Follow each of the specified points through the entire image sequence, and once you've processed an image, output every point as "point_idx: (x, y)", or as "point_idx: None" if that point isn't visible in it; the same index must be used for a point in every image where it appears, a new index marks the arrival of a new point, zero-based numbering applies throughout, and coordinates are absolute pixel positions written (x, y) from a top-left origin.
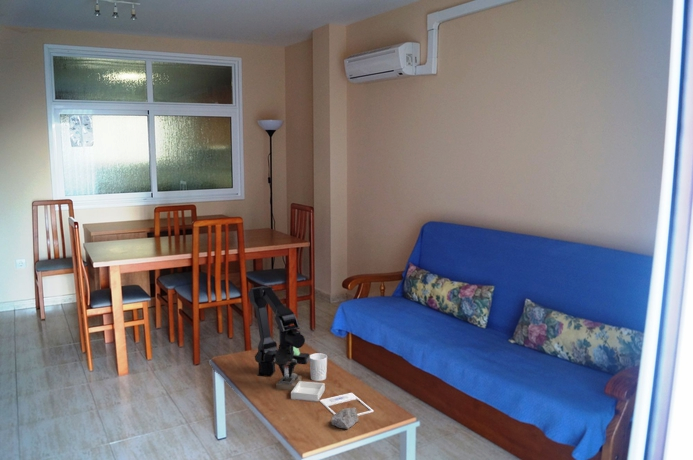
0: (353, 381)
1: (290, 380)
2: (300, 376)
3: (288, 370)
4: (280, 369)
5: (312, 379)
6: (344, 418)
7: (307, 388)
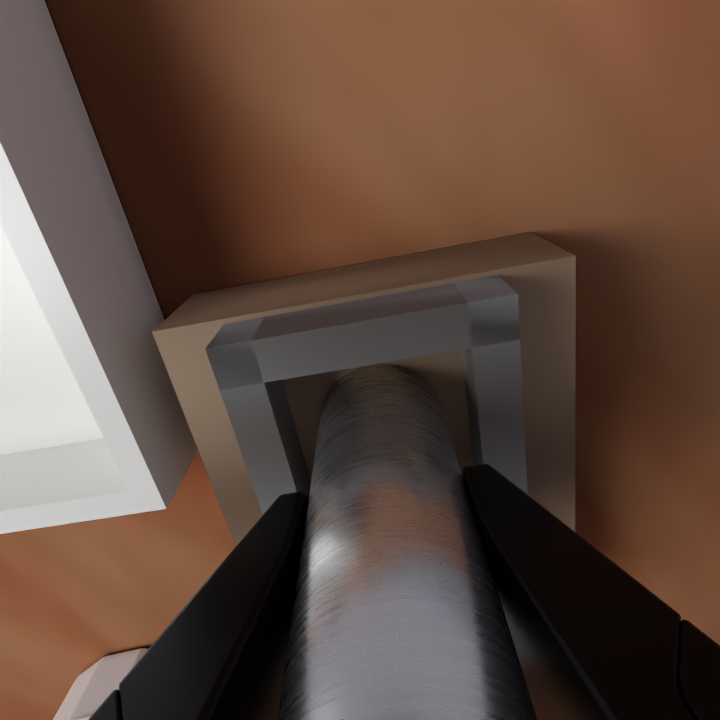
0: None
1: None
2: None
3: (292, 670)
4: (688, 631)
5: None
6: None
7: (44, 433)
